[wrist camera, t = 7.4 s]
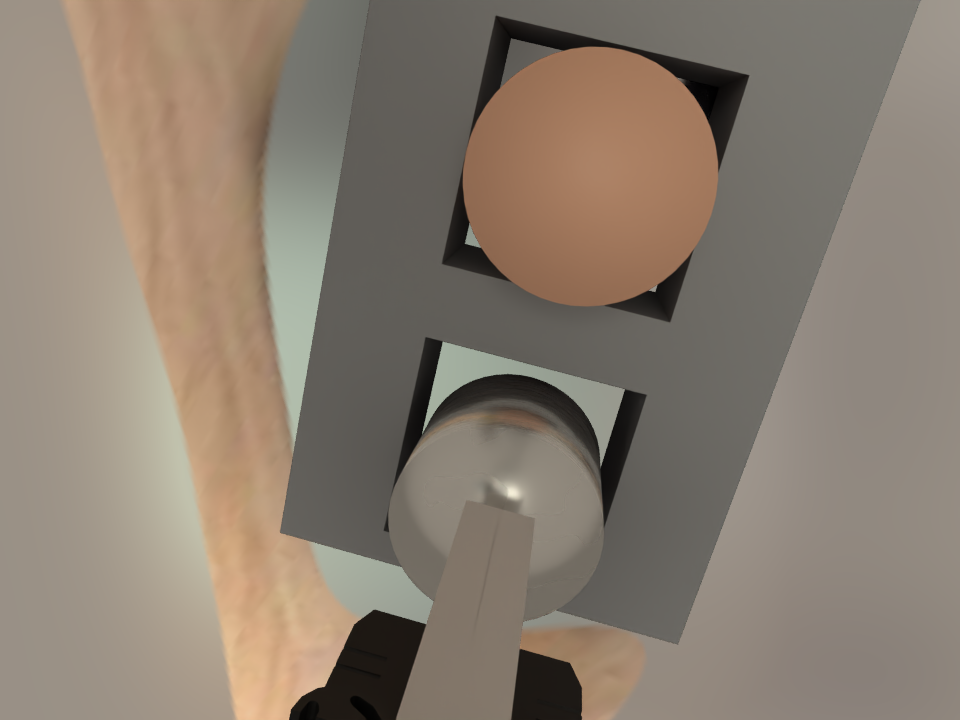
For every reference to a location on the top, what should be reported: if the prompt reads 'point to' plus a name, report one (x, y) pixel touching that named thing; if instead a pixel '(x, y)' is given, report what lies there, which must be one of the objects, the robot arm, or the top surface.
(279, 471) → the top surface
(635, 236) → the middle knob
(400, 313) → the knob mount
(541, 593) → the knob
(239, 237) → the top surface
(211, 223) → the top surface
